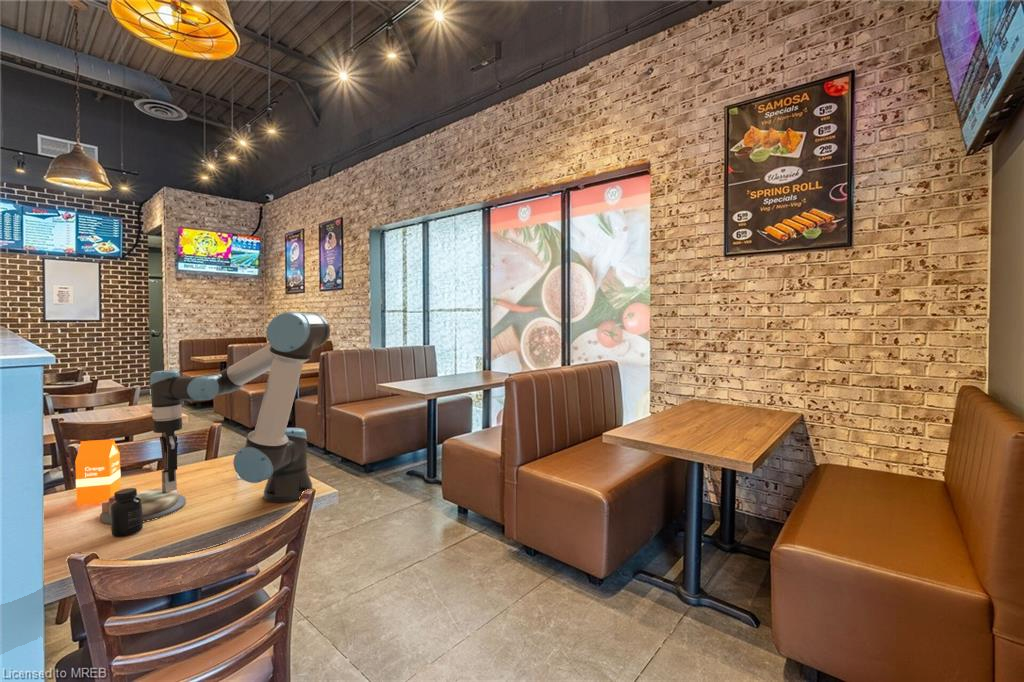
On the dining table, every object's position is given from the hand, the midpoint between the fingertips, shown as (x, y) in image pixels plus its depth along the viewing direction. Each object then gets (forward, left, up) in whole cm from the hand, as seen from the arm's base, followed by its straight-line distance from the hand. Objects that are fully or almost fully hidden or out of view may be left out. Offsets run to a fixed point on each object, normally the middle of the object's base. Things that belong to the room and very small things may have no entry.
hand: (171, 490), depth 146 cm
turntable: (+7, +1, -4) cm, 8 cm away
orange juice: (+24, -14, -5) cm, 28 cm away
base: (+7, +1, -5) cm, 8 cm away
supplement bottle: (+6, +17, -5) cm, 19 cm away
